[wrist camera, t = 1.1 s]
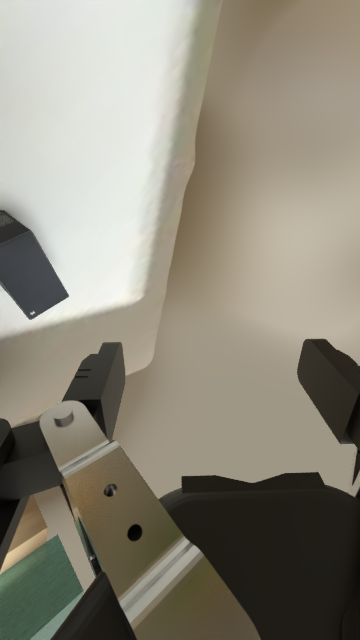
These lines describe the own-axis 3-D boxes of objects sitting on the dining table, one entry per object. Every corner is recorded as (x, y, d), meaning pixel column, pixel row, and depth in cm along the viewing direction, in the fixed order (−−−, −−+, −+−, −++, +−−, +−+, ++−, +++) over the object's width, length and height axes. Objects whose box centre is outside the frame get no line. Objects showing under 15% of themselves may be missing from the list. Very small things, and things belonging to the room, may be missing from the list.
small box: (43, 270, 45) (72, 297, 39) (4, 290, 42) (29, 323, 36) (5, 207, 37) (34, 229, 31) (-45, 227, 35) (-24, 256, 29)
